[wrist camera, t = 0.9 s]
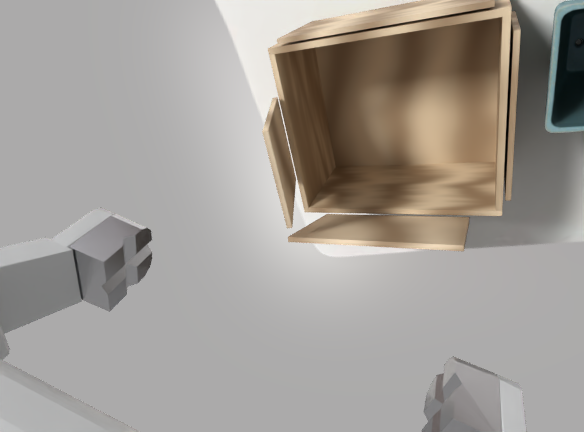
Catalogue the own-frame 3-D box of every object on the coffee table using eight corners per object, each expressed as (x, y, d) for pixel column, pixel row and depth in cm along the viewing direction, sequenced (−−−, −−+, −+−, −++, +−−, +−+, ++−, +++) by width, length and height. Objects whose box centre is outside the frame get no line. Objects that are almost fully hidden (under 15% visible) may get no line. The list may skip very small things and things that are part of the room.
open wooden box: (516, -20, 34) (522, -6, 26) (506, 164, 42) (510, 216, 34) (307, 20, 42) (266, 41, 34) (333, 169, 50) (304, 212, 42)
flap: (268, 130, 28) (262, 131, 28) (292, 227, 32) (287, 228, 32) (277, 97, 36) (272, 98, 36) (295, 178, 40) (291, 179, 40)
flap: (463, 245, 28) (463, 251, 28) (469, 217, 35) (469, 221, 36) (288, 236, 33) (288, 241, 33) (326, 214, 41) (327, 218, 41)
